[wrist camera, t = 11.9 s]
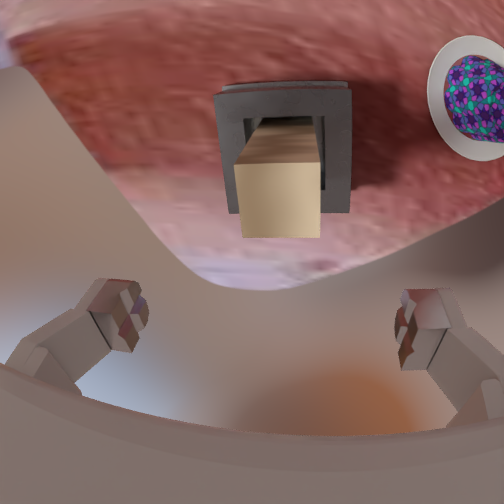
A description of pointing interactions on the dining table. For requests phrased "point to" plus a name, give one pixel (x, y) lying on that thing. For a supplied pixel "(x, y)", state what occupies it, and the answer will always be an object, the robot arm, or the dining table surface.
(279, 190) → the wooden peg
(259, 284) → the dining table surface
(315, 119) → the socket holder
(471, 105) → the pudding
